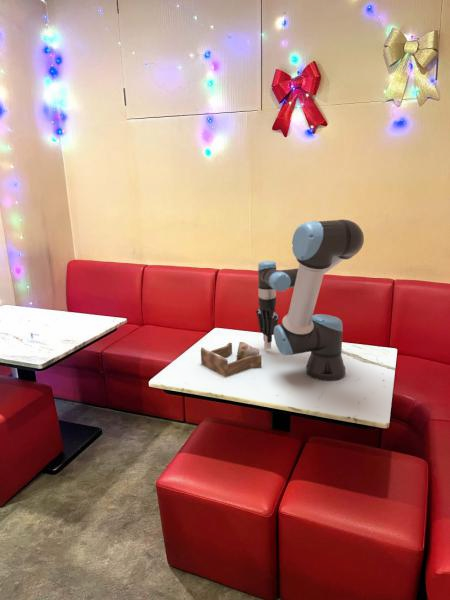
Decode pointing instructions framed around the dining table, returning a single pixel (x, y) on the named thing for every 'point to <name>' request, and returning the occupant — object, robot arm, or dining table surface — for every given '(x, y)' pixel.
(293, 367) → the dining table surface
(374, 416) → the dining table surface
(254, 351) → the mottled brown rock
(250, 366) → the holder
